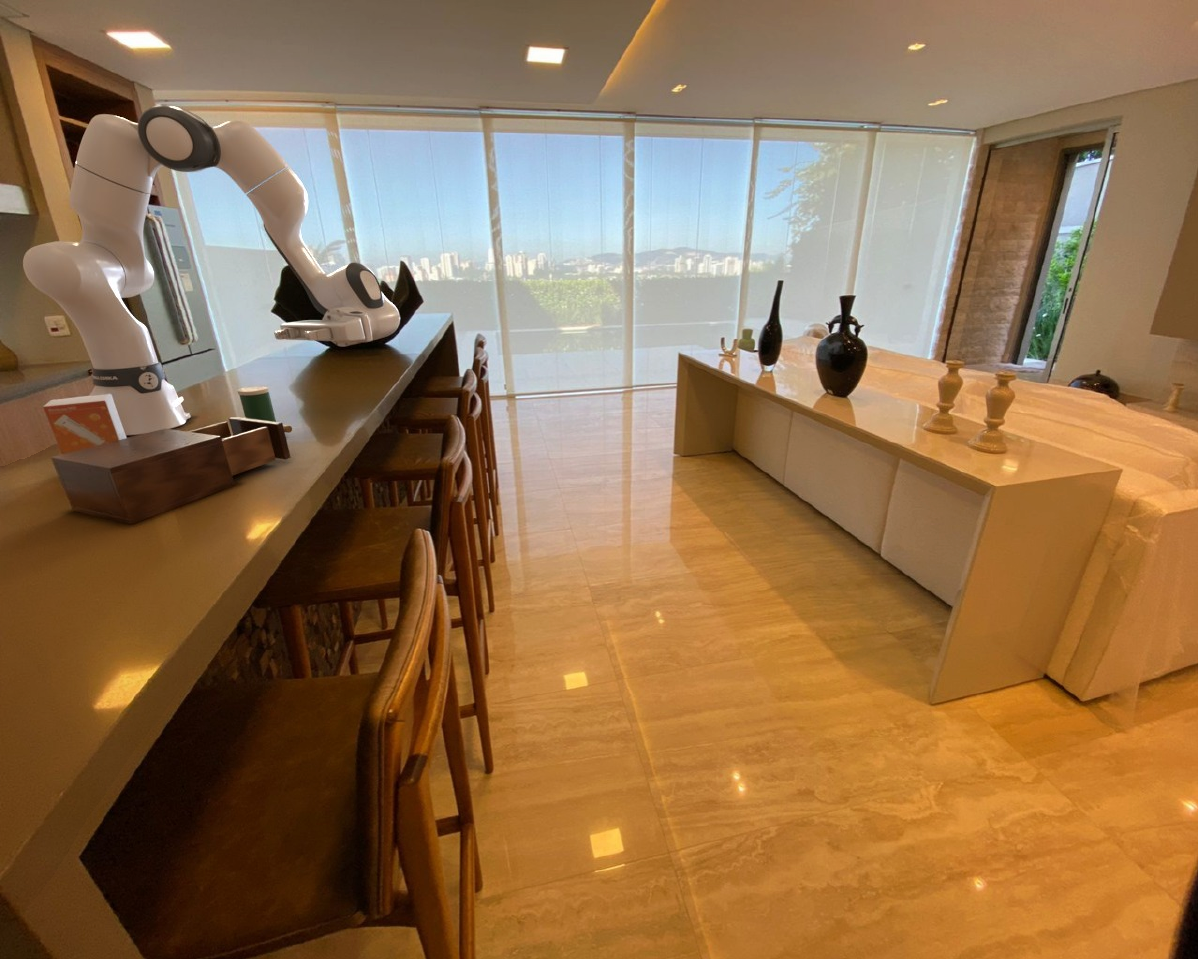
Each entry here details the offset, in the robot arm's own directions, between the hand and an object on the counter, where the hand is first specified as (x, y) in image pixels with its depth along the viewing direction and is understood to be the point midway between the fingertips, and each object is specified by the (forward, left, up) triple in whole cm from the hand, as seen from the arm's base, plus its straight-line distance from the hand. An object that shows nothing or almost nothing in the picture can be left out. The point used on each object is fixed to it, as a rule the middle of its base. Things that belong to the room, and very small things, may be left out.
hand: (291, 336), depth 114 cm
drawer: (+10, -25, -19) cm, 33 cm away
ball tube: (-1, -11, -20) cm, 23 cm away
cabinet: (+10, -39, -20) cm, 45 cm away
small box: (-13, -34, -20) cm, 42 cm away
